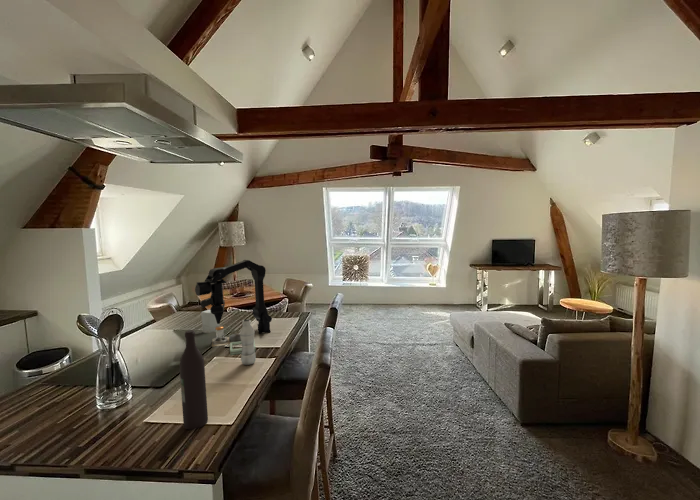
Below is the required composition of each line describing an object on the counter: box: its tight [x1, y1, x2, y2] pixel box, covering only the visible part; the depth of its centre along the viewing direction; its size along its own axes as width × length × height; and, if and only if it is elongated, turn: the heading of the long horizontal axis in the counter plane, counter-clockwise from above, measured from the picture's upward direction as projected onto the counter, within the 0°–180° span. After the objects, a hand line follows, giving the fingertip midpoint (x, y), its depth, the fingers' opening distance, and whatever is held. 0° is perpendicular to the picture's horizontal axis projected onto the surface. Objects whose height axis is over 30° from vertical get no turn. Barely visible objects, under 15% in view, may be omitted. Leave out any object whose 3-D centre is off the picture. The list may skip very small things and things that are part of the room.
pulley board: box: [211, 332, 241, 347], centre depth 183 cm, size 18×13×4 cm
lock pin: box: [215, 325, 225, 341], centre depth 181 cm, size 4×4×8 cm
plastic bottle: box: [239, 318, 257, 366], centre depth 154 cm, size 6×7×20 cm
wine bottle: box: [179, 329, 209, 431], centre depth 107 cm, size 7×7×30 cm
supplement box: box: [200, 309, 221, 334], centre depth 204 cm, size 7×7×13 cm
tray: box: [229, 340, 257, 356], centre depth 173 cm, size 12×12×2 cm
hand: (218, 321), depth 181 cm, fingers open, 9 cm apart
